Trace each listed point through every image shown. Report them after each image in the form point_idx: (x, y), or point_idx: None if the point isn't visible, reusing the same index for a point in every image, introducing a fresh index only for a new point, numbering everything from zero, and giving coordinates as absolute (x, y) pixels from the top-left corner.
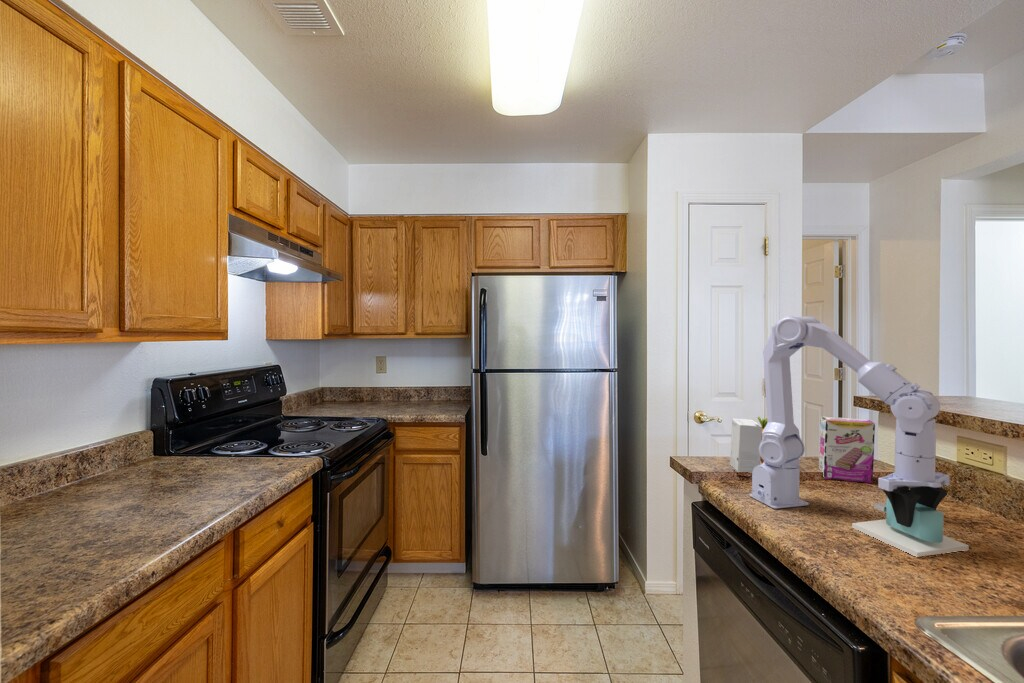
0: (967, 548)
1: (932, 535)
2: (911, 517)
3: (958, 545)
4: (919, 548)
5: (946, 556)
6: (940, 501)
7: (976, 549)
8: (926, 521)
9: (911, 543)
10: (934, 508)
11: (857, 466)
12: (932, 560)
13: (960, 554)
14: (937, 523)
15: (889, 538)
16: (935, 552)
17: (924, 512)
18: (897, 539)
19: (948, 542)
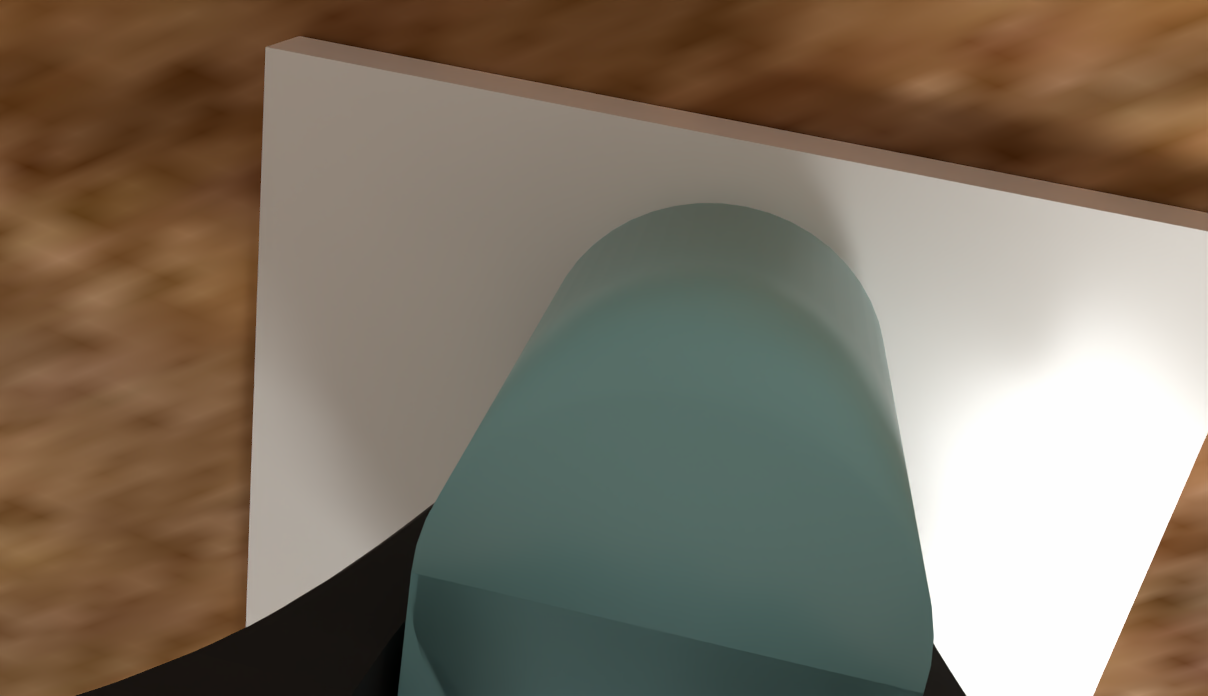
0: (307, 45)
1: (857, 302)
2: (928, 687)
3: (406, 109)
4: (1074, 297)
5: (783, 79)
6: (128, 684)
7: (147, 16)
8: (907, 486)
9: (982, 416)
10: (324, 629)
11: None
12: (1126, 98)
13: (524, 29)
14: (794, 351)
15: (1074, 608)
16: (911, 164)
17: (858, 637)
18: (1006, 551)
19: (436, 214)
